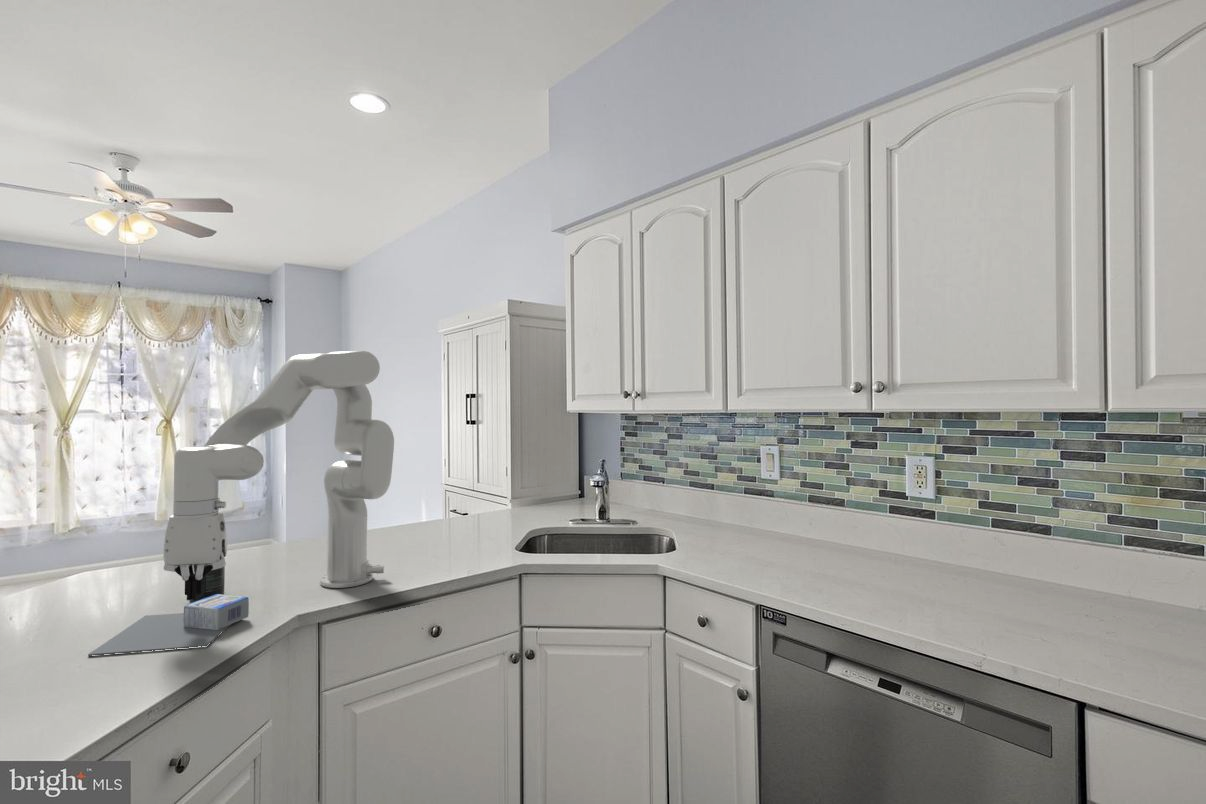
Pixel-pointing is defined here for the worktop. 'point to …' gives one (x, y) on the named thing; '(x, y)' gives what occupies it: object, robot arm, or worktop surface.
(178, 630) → the mat
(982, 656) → the worktop surface
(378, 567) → the robot arm
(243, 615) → the medicine box
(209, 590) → the supplement bottle
